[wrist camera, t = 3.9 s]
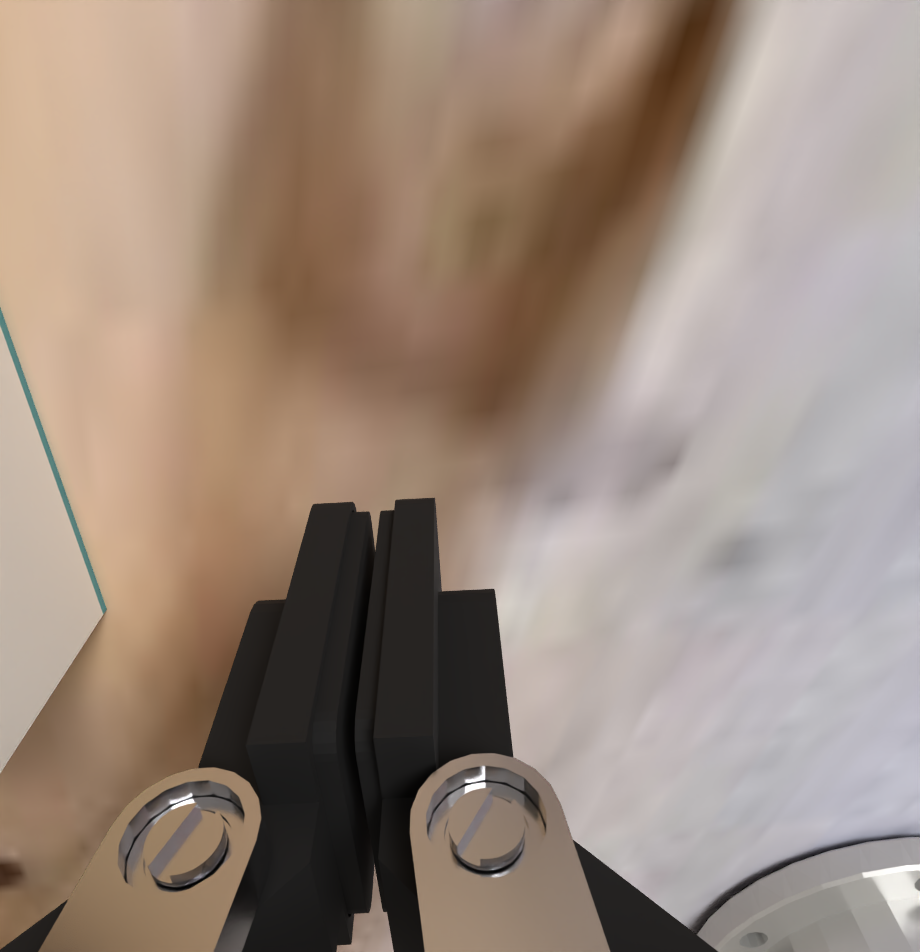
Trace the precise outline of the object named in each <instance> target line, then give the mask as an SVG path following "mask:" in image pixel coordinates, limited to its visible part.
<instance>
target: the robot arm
mask: <svg viewBox="0 0 920 952" xmlns="http://www.w3.org/2000/svg"><path fill="white" fill-rule="evenodd" d="M374 863H375V869H376V874H377V880H378V886H379V892H380V897H381V903H382V909H383V912H387V914H388V920H389V926H390V931H391V937H392V943H393V949H394V952H920V837H904V838H896V839H888V840H879V841H871V842H865V843H861V844H856V845H852V846H848V847H843V848H839V849H835V850H830V851H827V852H824V853H821V854H818V855H815V856H812V857H810V858H807V859H804V860H801V861H798V862H795V863H792V864H790V865H788V866H786V867H784V868H782V869H779V870H777V871H775V872H773V873H771V874H769V875H767V876H765V877H763V878H761V879H759V880H757V881H756V882H754V883H753V884H751V885H749V886H748V887H746V888H745V889H743V890H742V891H740V892H739V893H737V894H736V895H734V896H733V897H731V898H730V899H729V900H728V901H727V902H726V903H725V904H723V905H722V906H721V907H720V908H719V909H718V910H717V911H716V912H715V913H714V914H712V915H711V916H710V917H709V919H708V920H707V922H706V923H705V924H704V926H703V927H702V928H701V930H700V931H699V933H698V934H697V935H696V934H695V933H694V932H692V931H691V930H690V929H688V928H687V927H686V926H684V925H683V924H682V923H681V922H679V921H678V920H677V919H675V918H674V917H673V916H671V915H670V914H669V913H668V912H666V911H665V910H664V909H662V908H661V907H660V906H658V905H657V904H656V903H655V902H653V901H652V900H651V899H649V898H648V897H647V896H645V895H644V894H643V893H642V892H640V891H639V890H638V889H636V888H635V887H634V886H632V885H631V884H630V883H629V882H627V881H626V880H625V879H623V878H622V877H621V876H619V875H618V874H617V873H616V872H614V871H613V870H612V869H610V868H609V867H608V866H606V865H605V864H604V863H603V862H601V861H600V860H599V859H597V858H596V857H595V856H593V855H592V854H591V853H590V852H588V851H587V850H586V849H584V848H583V847H582V846H580V845H579V844H578V843H577V842H575V841H574V840H573V839H572V836H571V833H570V830H569V827H568V824H567V821H566V818H565V815H564V812H563V809H562V806H561V803H560V801H559V800H558V798H557V796H556V794H555V792H554V790H553V788H552V786H551V784H550V783H549V782H548V781H547V780H546V779H545V778H544V777H543V776H542V775H541V774H540V773H539V772H538V771H537V770H536V769H535V768H533V767H531V766H529V765H527V764H525V763H524V762H522V761H520V760H518V759H516V758H513V750H512V741H511V732H510V723H509V714H508V705H507V696H506V687H505V678H504V668H503V659H502V650H501V641H500V632H499V623H498V614H497V605H496V597H495V590H494V589H482V590H462V591H443V592H442V589H441V575H440V561H439V546H438V532H437V518H436V504H435V498H422V499H402V500H396V501H395V509H394V510H389V511H381V512H380V519H379V527H378V535H377V543H376V551H375V546H374V538H373V530H372V522H371V516H370V513H369V512H356V507H355V504H354V503H353V502H343V503H323V504H314V505H313V506H312V508H311V511H310V515H309V518H308V522H307V525H306V529H305V533H304V536H303V540H302V543H301V547H300V551H299V554H298V558H297V561H296V565H295V569H294V572H293V576H292V580H291V583H290V587H289V590H288V594H287V598H286V599H285V600H265V601H258V602H256V603H255V604H254V606H253V608H252V610H251V612H250V615H249V618H248V621H247V624H246V627H245V630H244V633H243V636H242V639H241V642H240V645H239V648H238V651H237V654H236V657H235V660H234V663H233V666H232V669H231V672H230V675H229V678H228V681H227V683H226V686H225V689H224V692H223V695H222V698H221V701H220V704H219V707H218V710H217V713H216V716H215V719H214V722H213V725H212V728H211V731H210V734H209V737H208V740H207V743H206V746H205V749H204V752H203V755H202V758H201V761H200V764H199V767H198V768H196V769H190V770H186V771H183V772H180V773H177V774H174V775H170V776H168V777H166V778H164V779H163V780H161V781H159V782H157V783H155V784H154V785H152V786H150V787H148V788H147V789H145V790H144V791H143V792H142V793H141V794H140V795H138V796H137V797H136V798H135V799H134V800H133V801H131V802H130V803H129V804H128V805H127V806H126V807H125V808H124V810H123V811H122V812H121V814H120V815H119V816H118V818H117V819H116V820H115V822H114V823H113V824H112V826H111V827H110V829H109V831H108V832H107V834H106V836H105V837H104V839H103V841H102V843H101V844H100V846H99V848H98V850H97V851H96V853H95V855H94V856H93V858H92V860H91V862H90V863H89V865H88V867H87V869H86V870H85V872H84V874H83V875H82V877H81V879H80V881H79V882H78V884H77V886H76V887H75V889H74V891H73V893H72V894H71V896H70V898H69V899H68V900H67V901H65V902H64V903H63V904H61V905H60V906H59V907H57V908H56V909H55V910H53V911H52V912H51V913H49V914H48V915H46V916H45V917H44V918H42V919H41V920H40V921H38V922H37V923H36V924H34V925H33V926H32V927H30V928H29V929H28V930H26V931H25V932H24V933H22V934H21V935H19V936H18V937H17V938H15V939H14V940H13V941H11V942H10V943H9V944H7V945H6V946H5V947H3V948H2V949H1V950H0V952H336V950H337V945H349V944H351V942H352V931H353V921H354V913H369V911H370V908H371V901H372V889H373V876H374Z"/></svg>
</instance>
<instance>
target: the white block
mask: <svg viewBox="0 0 920 952" xmlns="http://www.w3.org/2000/svg"><path fill="white" fill-rule="evenodd" d="M106 610H107V609H106V606H105V603H104V600H103V597H102V595H101V592H100V589H99V586H98V583H97V580H96V578H95V575H94V572H93V569H92V566H91V563H90V561H89V558H88V555H87V552H86V549H85V546H84V544H83V541H82V538H81V535H80V532H79V529H78V527H77V524H76V521H75V518H74V515H73V512H72V510H71V507H70V504H69V501H68V498H67V495H66V493H65V490H64V487H63V484H62V481H61V478H60V476H59V473H58V470H57V467H56V464H55V461H54V459H53V456H52V453H51V450H50V447H49V444H48V442H47V439H46V436H45V433H44V430H43V427H42V425H41V422H40V419H39V416H38V413H37V410H36V408H35V405H34V402H33V399H32V396H31V393H30V391H29V388H28V385H27V382H26V379H25V376H24V374H23V371H22V368H21V365H20V362H19V359H18V357H17V354H16V351H15V348H14V345H13V342H12V340H11V337H10V334H9V331H8V328H7V325H6V323H5V320H4V317H3V314H2V311H1V308H0V773H1V771H2V770H3V768H4V767H5V765H6V764H7V762H8V761H9V759H10V758H11V756H12V755H13V753H14V751H15V750H16V748H17V747H18V745H19V744H20V742H21V741H22V739H23V738H24V736H25V735H26V733H27V731H28V730H29V728H30V727H31V725H32V724H33V722H34V721H35V719H36V718H37V716H38V714H39V713H40V711H41V710H42V708H43V707H44V705H45V704H46V702H47V701H48V699H49V698H50V696H51V694H52V693H53V691H54V690H55V688H56V687H57V685H58V684H59V682H60V681H61V679H62V677H63V676H64V674H65V673H66V671H67V670H68V668H69V667H70V665H71V664H72V662H73V661H74V659H75V657H76V656H77V654H78V653H79V651H80V650H81V648H82V647H83V645H84V644H85V642H86V640H87V639H88V637H89V636H90V634H91V633H92V631H93V630H94V628H95V627H96V625H97V624H98V622H99V620H100V619H101V617H102V616H103V614H104V613H105V611H106Z"/></svg>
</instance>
